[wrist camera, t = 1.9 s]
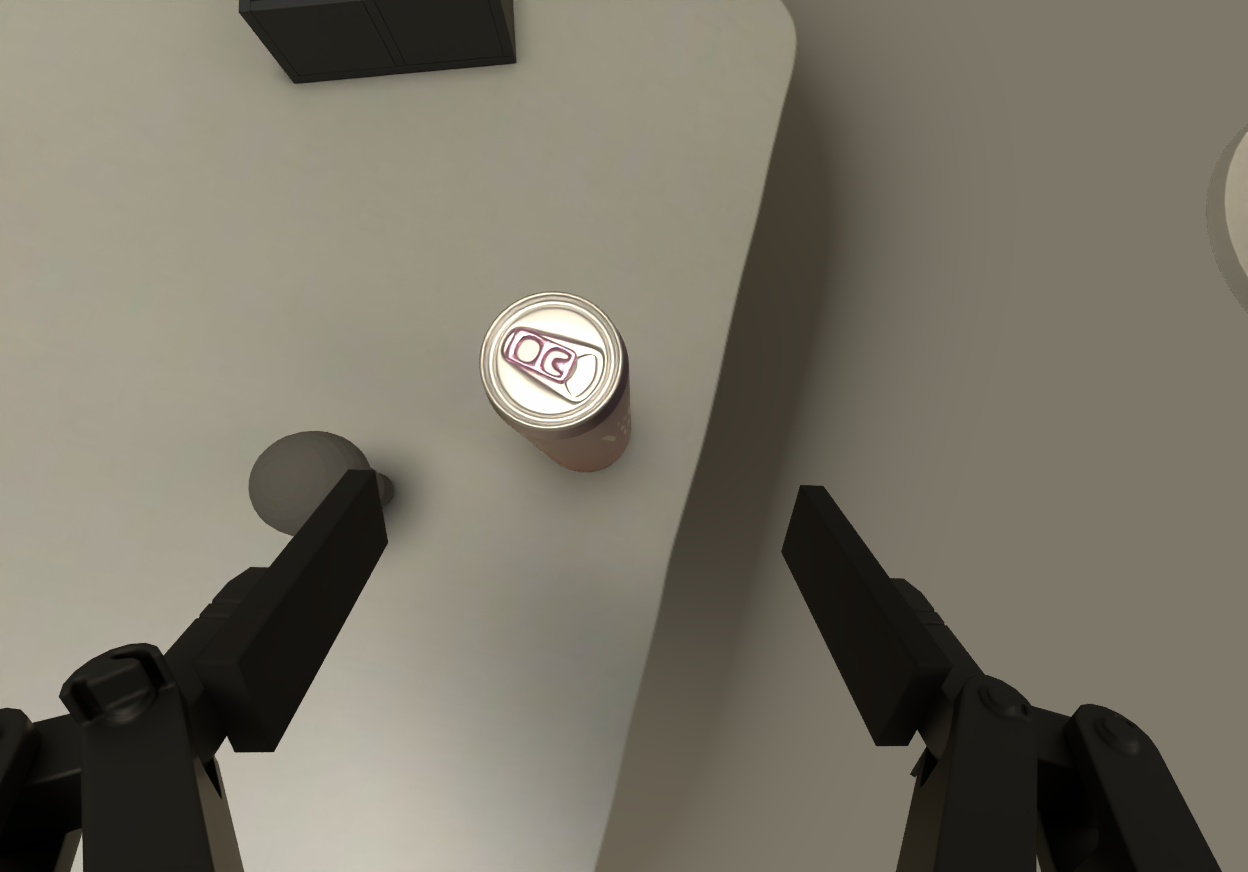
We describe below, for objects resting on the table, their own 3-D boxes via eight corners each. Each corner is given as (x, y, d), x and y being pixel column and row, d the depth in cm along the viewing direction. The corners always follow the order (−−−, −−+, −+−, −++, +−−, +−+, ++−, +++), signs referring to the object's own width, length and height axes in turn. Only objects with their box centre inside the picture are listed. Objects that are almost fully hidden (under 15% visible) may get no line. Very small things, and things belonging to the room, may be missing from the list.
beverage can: (566, 372, 35) (516, 263, 20) (645, 407, 34) (653, 321, 20) (527, 450, 34) (446, 396, 19) (608, 487, 33) (587, 460, 19)
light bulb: (365, 437, 34) (257, 404, 25) (437, 470, 34) (356, 449, 24) (325, 513, 34) (197, 510, 24) (399, 547, 33) (298, 558, 23)
